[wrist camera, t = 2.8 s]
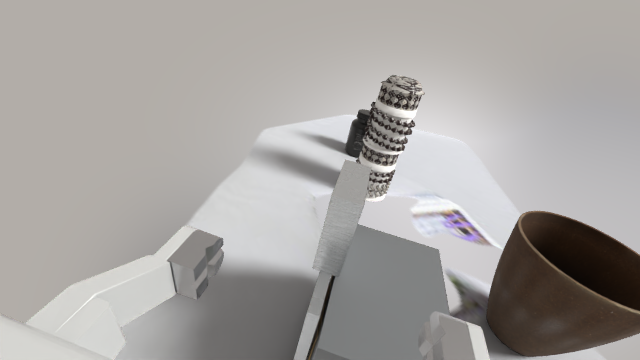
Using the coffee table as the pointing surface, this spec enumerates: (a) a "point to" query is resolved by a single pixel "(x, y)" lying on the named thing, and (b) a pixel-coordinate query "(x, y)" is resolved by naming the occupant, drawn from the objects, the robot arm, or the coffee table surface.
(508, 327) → the plant pot
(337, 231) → the side door
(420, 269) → the block
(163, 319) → the coffee table surface
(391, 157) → the black white cylinder
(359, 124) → the supplement bottle
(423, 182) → the coffee table surface
